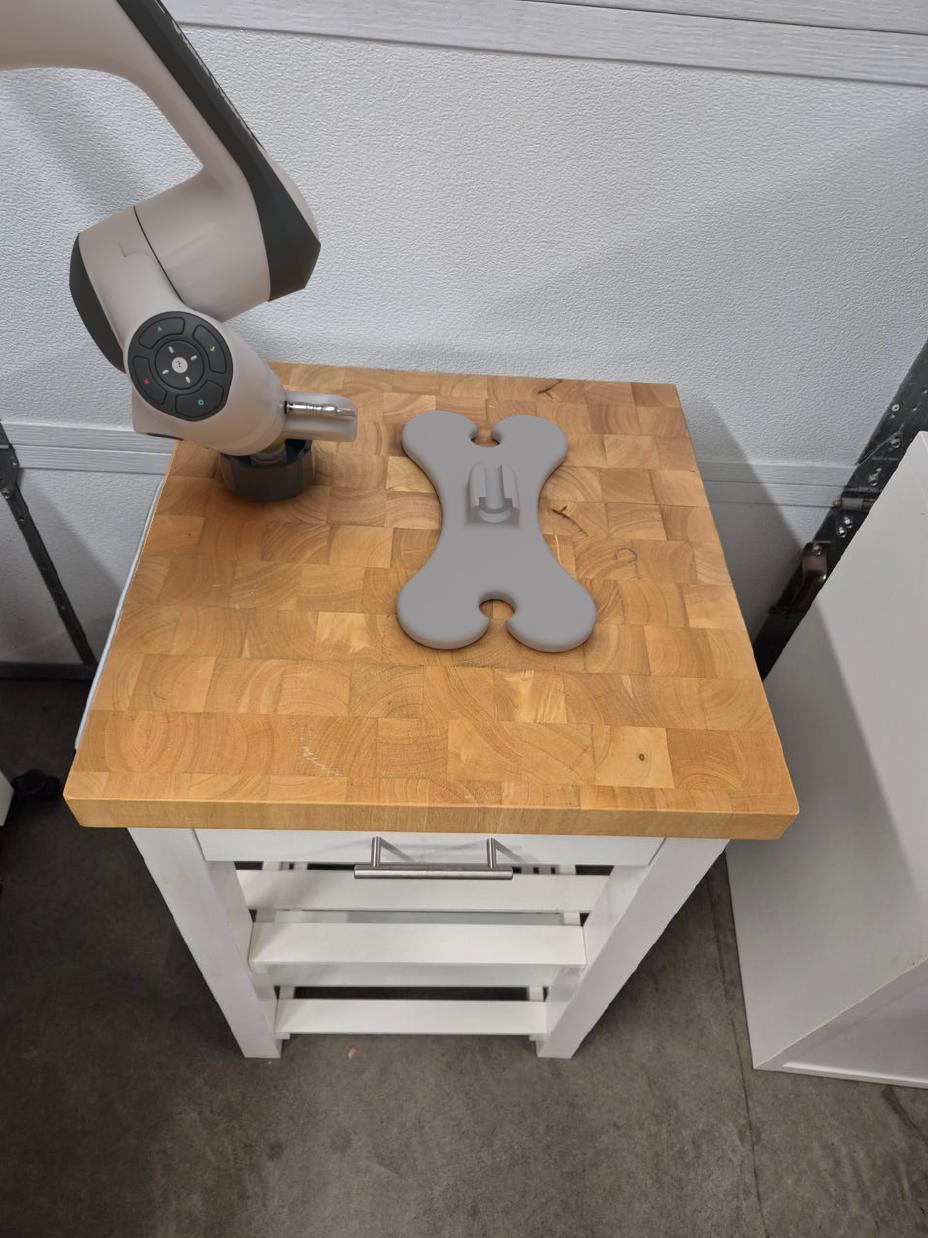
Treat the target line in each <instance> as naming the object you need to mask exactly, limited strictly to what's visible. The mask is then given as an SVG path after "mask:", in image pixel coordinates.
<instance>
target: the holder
mask: <svg viewBox="0 0 928 1238" xmlns="http://www.w3.org/2000/svg"><path fill="white" fill-rule="evenodd" d="M478 435H479V427H477V425H476V424H475V423H474V422H473V421H472V420H471V419H469V418H468V417H466V416H464V415H462V414H460V413H458V412H453V411H450V410H429V411H428V410H427V411H425V412H420V413H418V414H416V415H414V416H413V417H412V418H409V420H408V421H407V422H406V423H405V424H404V427H403V428H402V431H401V445H402V449H403V451H404V452H405V454H406V455H407V456H408V457H409V458H410V459H411V460H412V461H413V462H414V463H416V465H417V466H418V467H419V468H420V469H421V470H422V471H423V472H424V474H426V476H427V477H428V478H429V480H430V483H432V485H433V487H434V488H435V491H436V493H437V496H438V498H439V502H440V507H441V515H442V523H441V530H440V532H439V533H440V534H439V537H438V540H437V542H436V545H435V547H434V549H433V550H432V552H431V553H430V555H429V557H428V558H427V560H426V561H425V562H424V564H423V565H422V566H421V567H420V568H419V569H418V570H417V572H415V574H413V576H412V577H410V579H408V580H407V581H405V583H404V584H403V585H402V587H401V589H400V590H399V592H398V594H397V598H396V605H395V606H396V607H395V608H396V609H395V610H396V617H397V621H398V623H399V625H400V626H401V628H402V630H403V631H404V632H405V634H407V635H408V636H409V637H410V638H411V639H412V640H414V641H415V642H417V643H418V644H421V645H423V646H426V647H429V648H432V649H437V650H455V649H459V648H463V647H466V646H469V645H471V644H472V643H475V642H477V640H479V639H480V638H481V637H482V636H483V635H484V634H485V633H486V631H487V630H488V628H489V627H490V623H491V618H490V617H488V616H486V615H485V614H484V613H483V612H482V611H481V609H480V606H481V605H482V604H483V603H484V602H486V601H489V600H499V601H502V602H504V603H507V604H508V605H510V606H511V608H512V609H513V612H514V614H513V615H511V617H509V618H507V619H506V620H505V624H504V626H505V628H506V629H507V631H508V632H509V633H510V635H511V636H512V637H513V638H514V639H516V640H517V641H518V642H520V643H521V644H522V645H524V646H526V647H528V648H530V649H533V650H536V651H540V652H545V653H561V652H567V651H570V650H574V649H575V648H577V647H579V646H581V645H582V644H583V643H585V642H586V641H587V640H588V639H589V637H590V636H591V635H592V633H593V631H594V628H595V625H596V622H597V607H596V604H595V602H594V599H593V598H592V596H591V594H590V593H589V592H588V590H587V589H586V588H585V587H584V586H583V585H582V584H581V583H579V582H578V581H577V580H576V579H575V578H574V577H572V575H571V574H569V572H568V571H567V570H566V569H565V568H564V567H563V566H562V564H561V563H560V562H559V561H558V560H557V558H556V556H555V555H554V554H553V552H552V551H551V549H550V547H549V546H548V544H547V541H546V539H545V537H544V534H543V531H542V528H541V524H540V520H539V508H538V506H539V499H540V494H541V491H542V489H543V487H544V486H545V484H546V482H547V480H548V478H549V477H550V476H551V474H553V472H555V470H556V469H558V467H560V465H562V464H563V462H564V461H565V459H566V457H567V455H568V450H569V442H568V438H567V436H566V434H565V432H564V431H563V429H561V428H560V427H559V426H558V425H557V424H556V423H554V422H553V421H551V420H549V419H546V418H544V417H540V416H538V415H530V414H517V415H511V416H508V417H505V418H503V419H501V420H500V421H498V422H497V423H496V424H495V425H494V426H493V427H492V429H491V432H490V437H491V438H492V439H493V440H495V441H496V442H498V443H499V444H497V445H494V446H482V445H479V444H476V443H475V442H473V441H472V440H473V439H475V438H477V437H478Z"/></svg>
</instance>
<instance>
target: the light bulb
mask: <svg viewBox="0 0 928 1238" xmlns="http://www.w3.org/2000/svg"><path fill="white" fill-rule="evenodd" d="M286 439H287V438H276V439H275V440H274V441H273V442H272V443H271V444H270V445H269V446H268V447H266V448H265V449H263V450H261V451H259V452H256V453H254V454H250V457H251V463H252V465H265V466H267V465H273V464H278V463H283V462H285V461H287V458H286V450H285V449H286V448H285V443H284V441H285V440H286Z"/></svg>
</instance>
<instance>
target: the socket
mask: <svg viewBox="0 0 928 1238" xmlns="http://www.w3.org/2000/svg"><path fill="white" fill-rule="evenodd" d="M284 443H285V448H286V449H285V450H286V458H287V461H285V462H283V463H278V464H273V465H267V466H265V465H252V463H251V457H250V455H243V456H234V455H228V454H224V453H222V452H219V451H217V456H218V460H219V465H220V470H221V473H222V478H223V482H224V483H225V485H226V486H227V488H228V489H229V490H230V491H231V492H232V493H233V494H235V495H236V496H238V497H240V498H243V499H245V500H248V501H251V502H257V503H276V502H277V503H278V502H282V501H286V500H289V499H292V498H294V497H296V496H298V495H300V494H301V493H303V492H304V491H305V490H307V489H308V487H310V485H311V484H312V482H313V480H314V478H315V476H316V452H315V440H305V439H291V438H287V439H286V440H285V441H284Z"/></svg>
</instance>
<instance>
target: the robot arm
mask: <svg viewBox="0 0 928 1238" xmlns="http://www.w3.org/2000/svg"><path fill="white" fill-rule="evenodd" d="M46 68H47V69H48V68H54V69H55V68H58V69H59V68H60V69H62V68H63V69H79V70H89V71H97V72H101V73H106V74H110V75H113V76H115V77H116V76H117V77H119V78H122V79H124V80H126V81H128V82H130V83H131V84H133V85H134V86H135V87H137V88H139V89H140V90H141V91H142V92H143V93H145V95H146V96H147V97H148V98H149V100H151V101H152V103H153V104H154V105H155V106H156V108H157V109H158V111H159V112H160V113H161V114H162V115H163V116H164V118H165V119H166V121H168V123H169V124H170V126H172V128H173V129H174V131H175V132H176V133H177V134H178V136H179V137H180V138H181V139H182V140H183V142H184V143H185V144H186V146H187V147H188V148H189V149H190V151H191V152H192V153H193V155H194V156H195V157H196V159H198V161H199V162H200V163H201V165H202V168H201V169H200V170H199V171H198V172H197V173H195V174H194V175H193V176H192V177H189V178H187V179H185V180H183V181H181V182H180V183H177V184H175V185H173V186H171V187H169V188H168V189H166V190H163V191H161V192H160V193H159V192H158V193H157V194H155V195H153V196H151V197H149V198H147V199H145V200H144V201H142V202H139V203H137V204H132V205H130V206H128V207H126V208H124V209H122V210H121V211H118V212H116V213H114V214H113V215H110V216H108V217H106V218H105V219H103V220H101V221H99V222H97V223H95V224H93V225H91V226H90V227H88V228H86V229H85V230H83V231H80V232H78V233H77V235H76V237H75V240H74V242H73V244H72V249H71V252H70V260H69V261H70V262H69V274H68V276H69V277H68V286H69V293H70V295H71V299H72V301H73V304H74V306H75V308H76V311H77V313H78V315H79V318H80V319H81V321H82V323H83V325H84V327H85V329H86V330H87V332H88V334H89V336H90V337H91V339H92V340H93V342H94V343H95V345H96V346H97V348H98V349H99V350H100V352H101V354H102V355H103V357H105V359H106V360H107V361H108V362H109V363H110V365H112V366H113V368H115V369H116V370H118V371H119V372H121V373H123V374H124V375H126V377H127V380H128V382H129V384H130V386H131V418H132V419H131V420H132V427H133V431H134V432H135V433H137V434H140V435H142V436H143V435H144V436H148V437H149V436H150V437H153V438H163V439H170V440H175V441H179V442H183V441H185V442H189V443H192V444H194V445H197V446H199V447H201V448H203V449H207V450H209V449H212V450H214V451H217V452H218V451H219V452H222V453H224V454H228V455H234V456H243V455H250V454H254V453H256V452H259V451H261V450H263V449H265V448H266V447H268V446H269V445H270V444H271V443H272V442H273V441H274V440H275V439H276V438H291V439H305V440H314V441H319V442H320V441H322V442H334V443H353V442H355V441H356V439H357V437H358V436H357V435H358V424H359V423H358V422H359V421H358V420H359V419H358V418H359V409H358V406H357V405H356V403H354V402H353V401H352V400H350V399H349V398H347V397H345V396H342V395H339V394H333V393H326V392H316V391H315V392H314V391H304V390H303V391H301V390H288V389H285V387H284V384H283V382H282V381H281V379H280V378H279V376H278V375H277V373H276V372H275V371H274V370H273V369H272V368H271V366H270V365H269V364H267V362H266V361H265V360H264V359H263V358H262V357H261V356H260V355H259V354H258V353H257V351H256V350H255V349H254V348H253V346H251V345H250V343H249V342H248V341H246V340H245V339H244V338H243V337H242V336H240V335H239V334H238V333H237V332H236V331H234V330H233V329H232V328H230V327H228V326H227V325H226V324H224V323H226V322H228V321H230V320H232V319H234V318H236V317H237V316H239V315H242V314H243V313H246V312H248V311H250V310H252V309H254V308H256V307H258V306H260V305H262V304H263V303H264V304H265V303H266V302H267V303H270V302H273V301H276V300H279V299H281V298H283V297H286V296H289V295H291V294H294V293H296V292H300V291H302V290H304V289H305V288H306V287H307V285H308V283H309V281H310V279H311V277H312V275H313V272H314V271H315V268H316V266H317V262H318V260H319V256H320V253H321V249H322V243H321V241H320V235H319V233H320V232H319V228H318V225H317V222H316V219H315V217H314V214H313V211H312V209H311V207H310V205H309V203H308V201H307V199H306V198H305V196H304V194H303V193H302V190H301V189H300V188H299V186H298V185H297V184H296V182H295V181H294V180H293V179H292V178H291V176H290V175H289V174H288V173H287V171H285V170H284V169H283V167H282V166H281V165H279V163H278V162H277V161H276V160H275V159H274V158H273V157H272V156H271V155H270V154H269V153H268V152H267V150H266V149H265V148H264V146H263V144H262V143H261V142H260V141H259V139H258V137H256V135H255V133H254V132H253V131H252V130H251V128H250V127H249V126H248V124H247V122H246V120H244V118H243V117H242V115H241V114H240V112H239V111H238V109H237V108H236V106H235V105H234V104H233V103H232V101H231V99H230V98H229V96H228V95H227V93H226V92H225V90H224V89H223V88H222V87H221V84H219V82H218V81H217V79H216V78H215V77H214V74H212V72H211V71H210V69H209V68H208V66H207V65H206V63H205V62H204V61H203V59H202V58H201V56H200V55H199V53H198V52H197V50H196V49H195V47H194V45H193V44H192V43H191V41H190V40H189V38H188V37H187V35H186V34H185V33H184V31H183V30H182V28H181V27H180V26H179V24H178V22H177V21H176V20H175V18H174V17H173V16H172V14H171V13H170V12H169V10H168V9H167V8H166V6H165V4H164V3H163V1H162V0H0V72H2V71H14V70H26V69H27V70H28V69H46Z"/></svg>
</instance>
